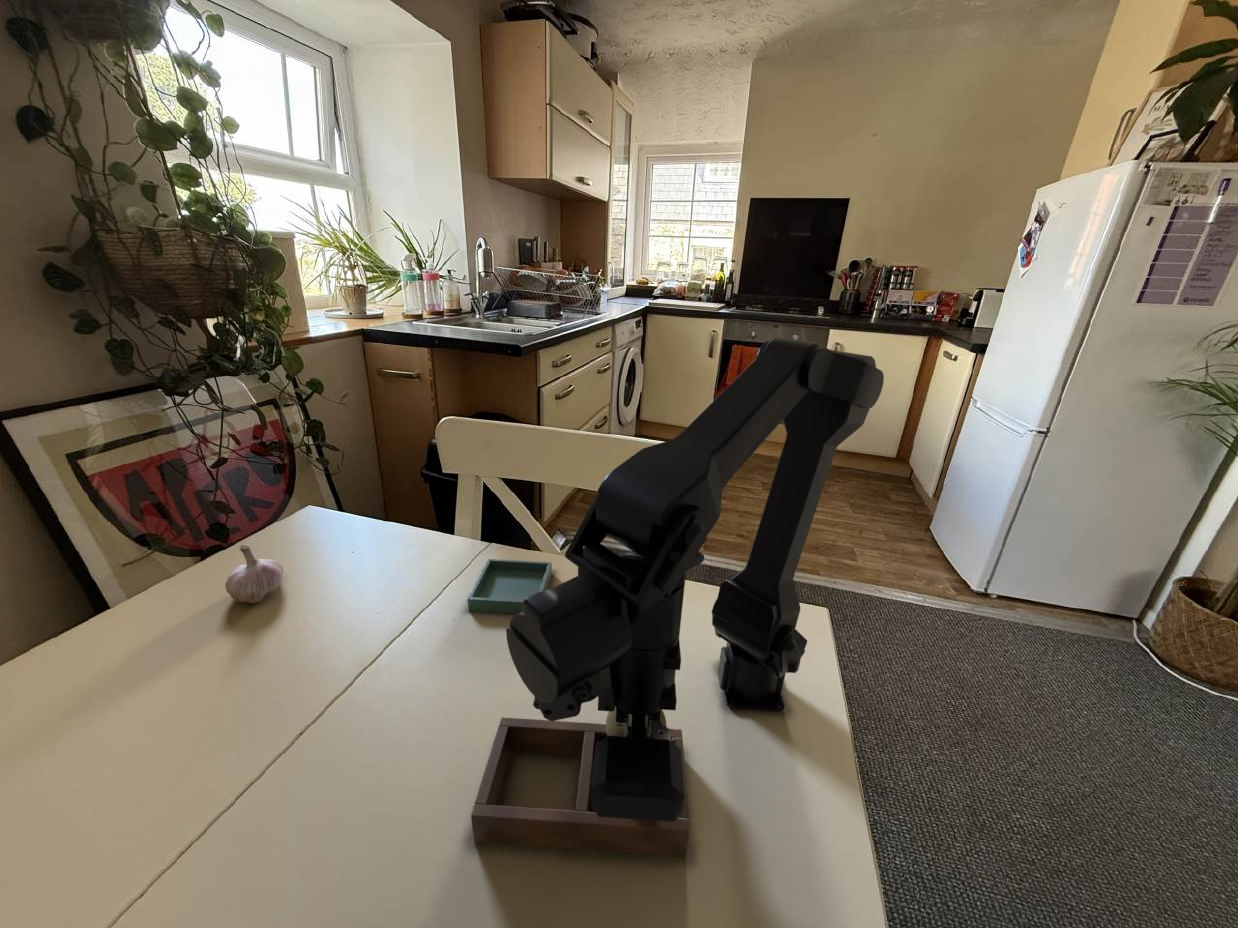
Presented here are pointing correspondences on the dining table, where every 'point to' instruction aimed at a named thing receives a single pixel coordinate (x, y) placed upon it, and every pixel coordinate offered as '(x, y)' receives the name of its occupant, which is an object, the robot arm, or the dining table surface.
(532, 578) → the tray
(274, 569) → the garlic bulb
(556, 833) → the divided wooden box
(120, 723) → the dining table surface
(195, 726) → the dining table surface
